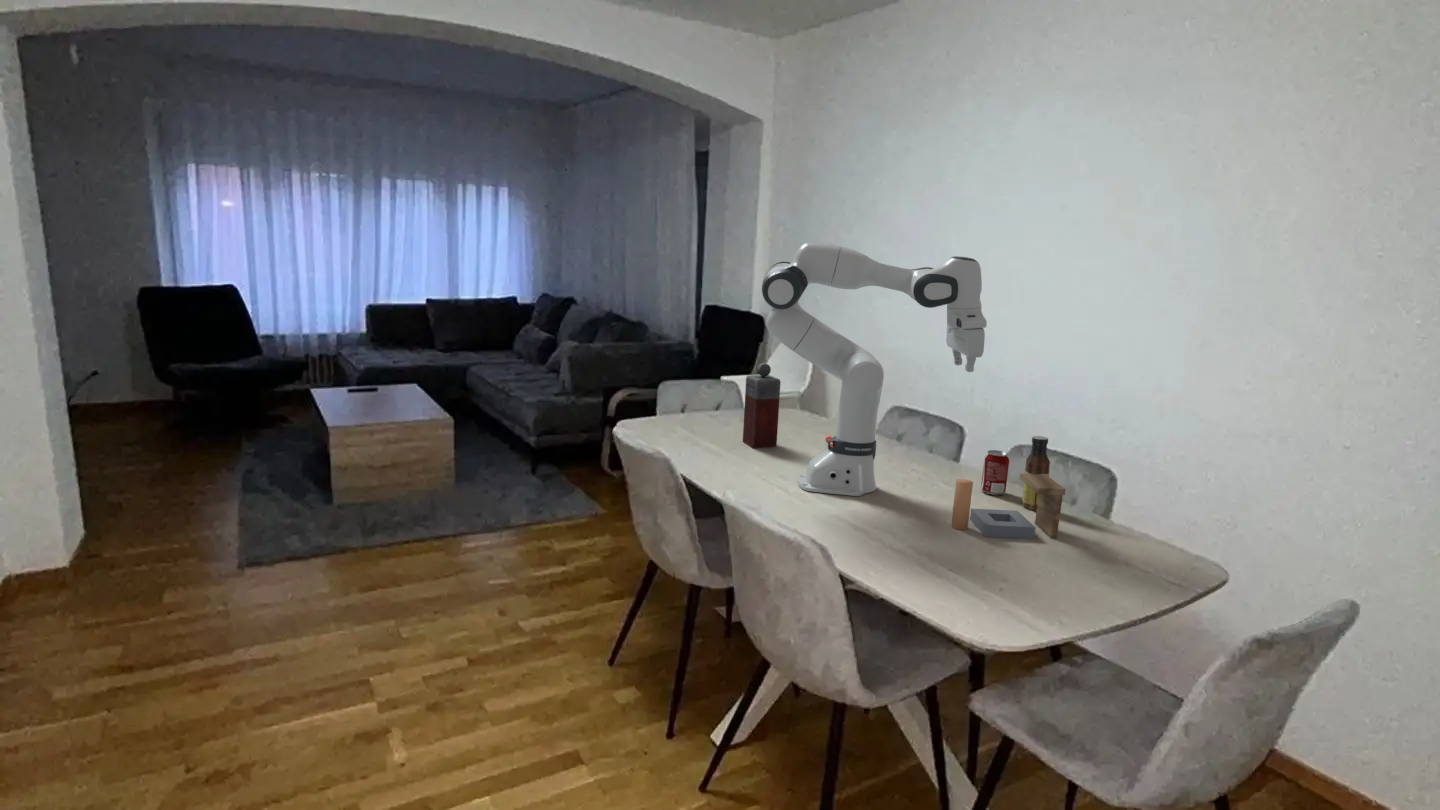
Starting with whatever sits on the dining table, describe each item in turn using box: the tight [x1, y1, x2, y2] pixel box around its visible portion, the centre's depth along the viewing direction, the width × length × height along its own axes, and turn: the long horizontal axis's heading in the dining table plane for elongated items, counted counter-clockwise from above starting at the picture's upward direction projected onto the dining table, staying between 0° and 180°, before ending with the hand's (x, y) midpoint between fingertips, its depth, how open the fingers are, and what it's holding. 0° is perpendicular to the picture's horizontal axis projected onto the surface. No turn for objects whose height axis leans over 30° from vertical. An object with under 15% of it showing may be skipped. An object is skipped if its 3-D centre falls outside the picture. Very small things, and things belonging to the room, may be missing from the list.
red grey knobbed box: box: [742, 362, 782, 449], centre depth 268 cm, size 9×11×28 cm
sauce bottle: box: [1021, 435, 1051, 511], centre depth 214 cm, size 6×6×20 cm
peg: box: [950, 478, 974, 531], centre depth 197 cm, size 4×4×12 cm
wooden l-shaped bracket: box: [1019, 472, 1066, 539], centre depth 197 cm, size 6×12×13 cm, turn 0°
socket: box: [969, 508, 1036, 540], centre depth 198 cm, size 12×12×3 cm
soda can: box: [980, 449, 1010, 496], centre depth 227 cm, size 7×7×12 cm
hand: (963, 368), depth 215 cm, fingers open, 8 cm apart
